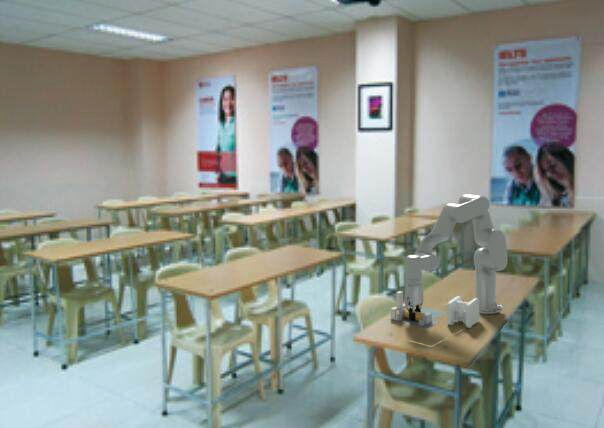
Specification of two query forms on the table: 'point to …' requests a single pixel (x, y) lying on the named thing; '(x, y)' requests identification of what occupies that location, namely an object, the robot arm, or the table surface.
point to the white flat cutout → (397, 304)
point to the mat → (434, 313)
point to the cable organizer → (463, 311)
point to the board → (414, 322)
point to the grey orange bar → (417, 315)
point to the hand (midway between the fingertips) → (415, 318)
